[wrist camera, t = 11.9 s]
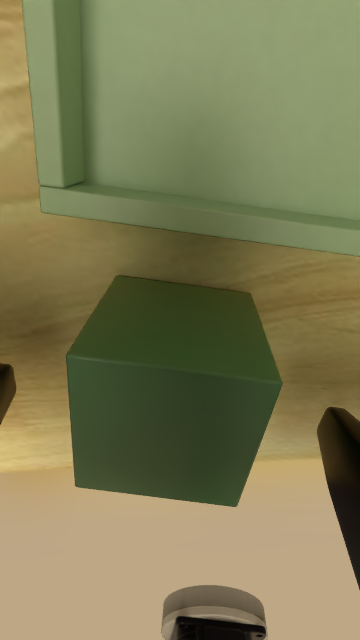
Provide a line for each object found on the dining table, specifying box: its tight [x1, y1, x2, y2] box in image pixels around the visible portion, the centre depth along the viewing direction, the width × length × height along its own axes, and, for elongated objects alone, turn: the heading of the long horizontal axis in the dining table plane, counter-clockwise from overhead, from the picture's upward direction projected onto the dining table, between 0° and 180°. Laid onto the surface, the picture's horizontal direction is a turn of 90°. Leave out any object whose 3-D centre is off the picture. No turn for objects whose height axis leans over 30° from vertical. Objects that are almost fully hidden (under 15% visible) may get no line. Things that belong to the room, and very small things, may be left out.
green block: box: [66, 276, 283, 507], centre depth 9 cm, size 4×4×4 cm
